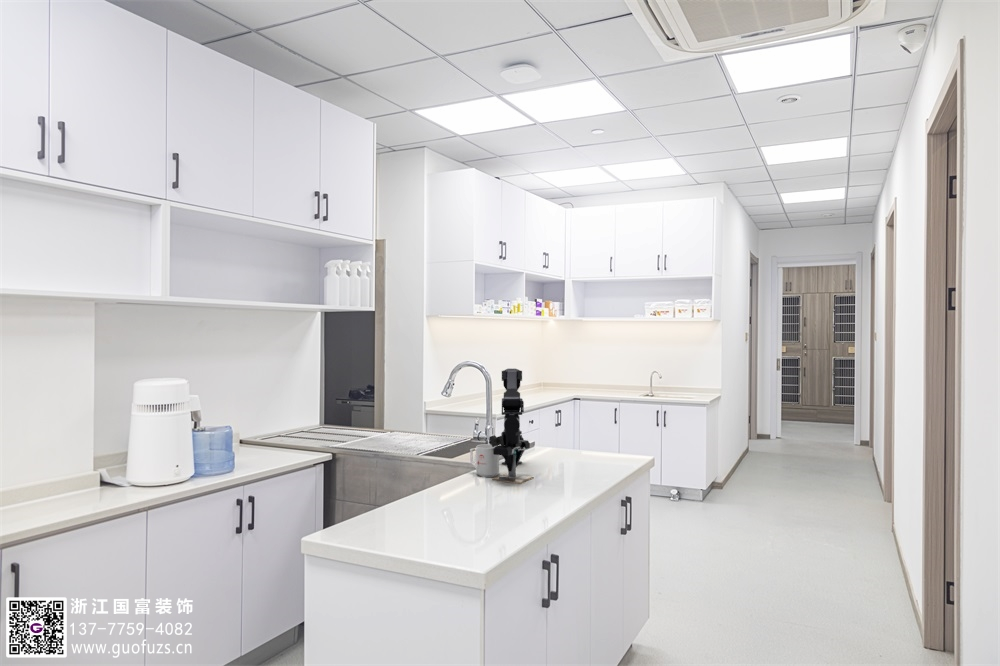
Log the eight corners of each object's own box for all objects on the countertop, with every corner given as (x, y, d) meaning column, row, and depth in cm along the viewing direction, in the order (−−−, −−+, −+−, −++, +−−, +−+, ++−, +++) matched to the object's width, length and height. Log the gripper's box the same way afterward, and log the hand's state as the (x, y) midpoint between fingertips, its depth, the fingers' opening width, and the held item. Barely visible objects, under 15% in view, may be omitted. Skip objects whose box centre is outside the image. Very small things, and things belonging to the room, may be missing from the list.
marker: (510, 475, 253) (510, 450, 253) (517, 475, 251) (517, 451, 251) (506, 476, 250) (506, 451, 250) (513, 477, 249) (513, 452, 248)
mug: (503, 473, 261) (503, 445, 261) (492, 478, 253) (492, 449, 253) (476, 470, 266) (476, 442, 266) (464, 475, 258) (464, 446, 258)
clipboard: (505, 474, 259) (505, 470, 259) (533, 477, 254) (533, 474, 254) (491, 480, 250) (491, 476, 250) (520, 483, 244) (520, 480, 244)
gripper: (505, 424, 263) (505, 463, 263) (480, 430, 246) (480, 472, 246) (530, 426, 257) (530, 466, 257) (507, 433, 241) (507, 476, 241)
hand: (511, 470), depth 251 cm, fingers closed on marker, 3 cm apart
